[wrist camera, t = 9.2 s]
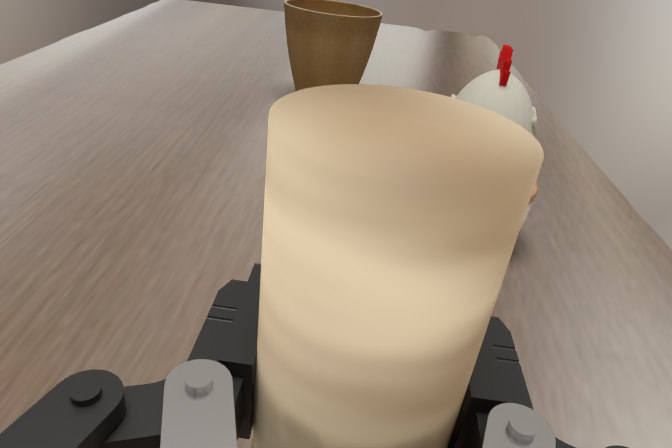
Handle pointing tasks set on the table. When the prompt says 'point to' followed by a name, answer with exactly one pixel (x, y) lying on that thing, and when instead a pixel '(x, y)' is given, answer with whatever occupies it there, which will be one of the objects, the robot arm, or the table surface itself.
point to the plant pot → (329, 41)
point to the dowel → (381, 262)
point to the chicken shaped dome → (502, 94)
